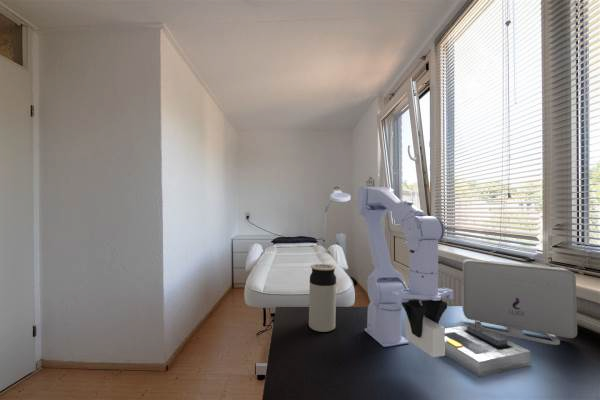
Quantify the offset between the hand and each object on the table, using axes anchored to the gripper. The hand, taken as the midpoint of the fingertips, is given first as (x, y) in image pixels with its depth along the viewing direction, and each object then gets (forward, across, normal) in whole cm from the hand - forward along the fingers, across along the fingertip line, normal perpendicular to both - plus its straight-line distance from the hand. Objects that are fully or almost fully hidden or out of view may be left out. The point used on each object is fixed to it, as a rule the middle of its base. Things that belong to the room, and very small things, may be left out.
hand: (423, 334), depth 54 cm
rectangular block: (+2, 0, 0) cm, 2 cm away
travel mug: (+9, -13, +26) cm, 30 cm away
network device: (+9, +42, +10) cm, 44 cm away
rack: (+8, +19, +4) cm, 21 cm away
